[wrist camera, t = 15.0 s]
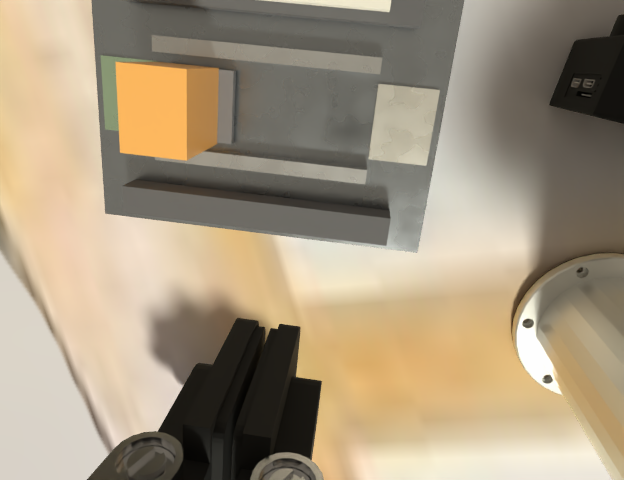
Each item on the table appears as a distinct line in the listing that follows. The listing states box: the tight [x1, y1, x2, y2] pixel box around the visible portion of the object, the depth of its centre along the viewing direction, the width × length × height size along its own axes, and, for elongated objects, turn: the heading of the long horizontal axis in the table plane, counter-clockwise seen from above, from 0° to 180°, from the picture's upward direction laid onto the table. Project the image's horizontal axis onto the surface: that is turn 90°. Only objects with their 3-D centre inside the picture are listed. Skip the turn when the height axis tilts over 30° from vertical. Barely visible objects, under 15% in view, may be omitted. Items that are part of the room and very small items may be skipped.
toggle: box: [115, 62, 236, 161], centre depth 30 cm, size 6×5×7 cm
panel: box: [92, 0, 464, 253], centre depth 33 cm, size 24×18×3 cm
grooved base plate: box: [122, 0, 426, 246], centre depth 31 cm, size 19×16×3 cm
